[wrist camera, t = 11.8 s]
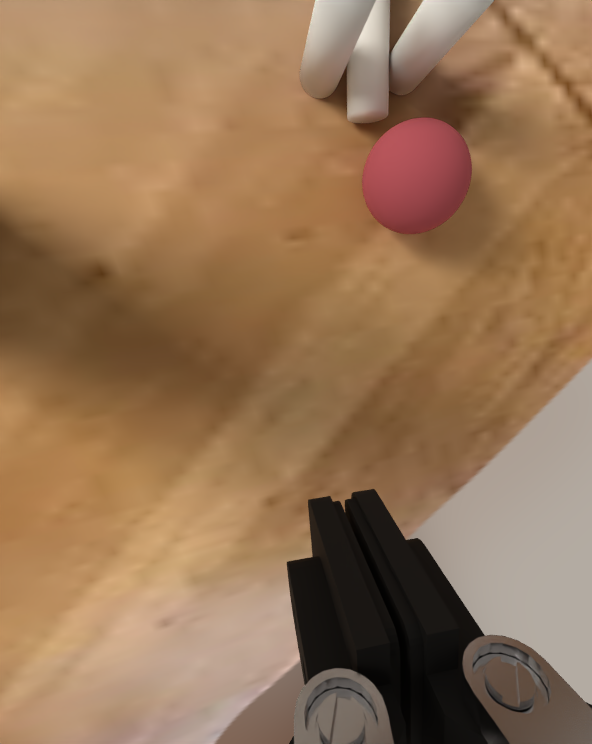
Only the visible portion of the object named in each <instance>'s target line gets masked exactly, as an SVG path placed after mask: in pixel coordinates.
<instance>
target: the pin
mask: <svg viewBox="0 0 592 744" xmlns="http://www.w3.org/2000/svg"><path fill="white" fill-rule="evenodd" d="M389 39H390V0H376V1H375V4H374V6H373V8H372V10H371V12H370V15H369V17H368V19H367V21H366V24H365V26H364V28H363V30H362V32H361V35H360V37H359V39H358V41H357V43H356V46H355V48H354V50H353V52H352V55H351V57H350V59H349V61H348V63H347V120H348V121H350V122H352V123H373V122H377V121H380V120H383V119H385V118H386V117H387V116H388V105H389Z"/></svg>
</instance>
